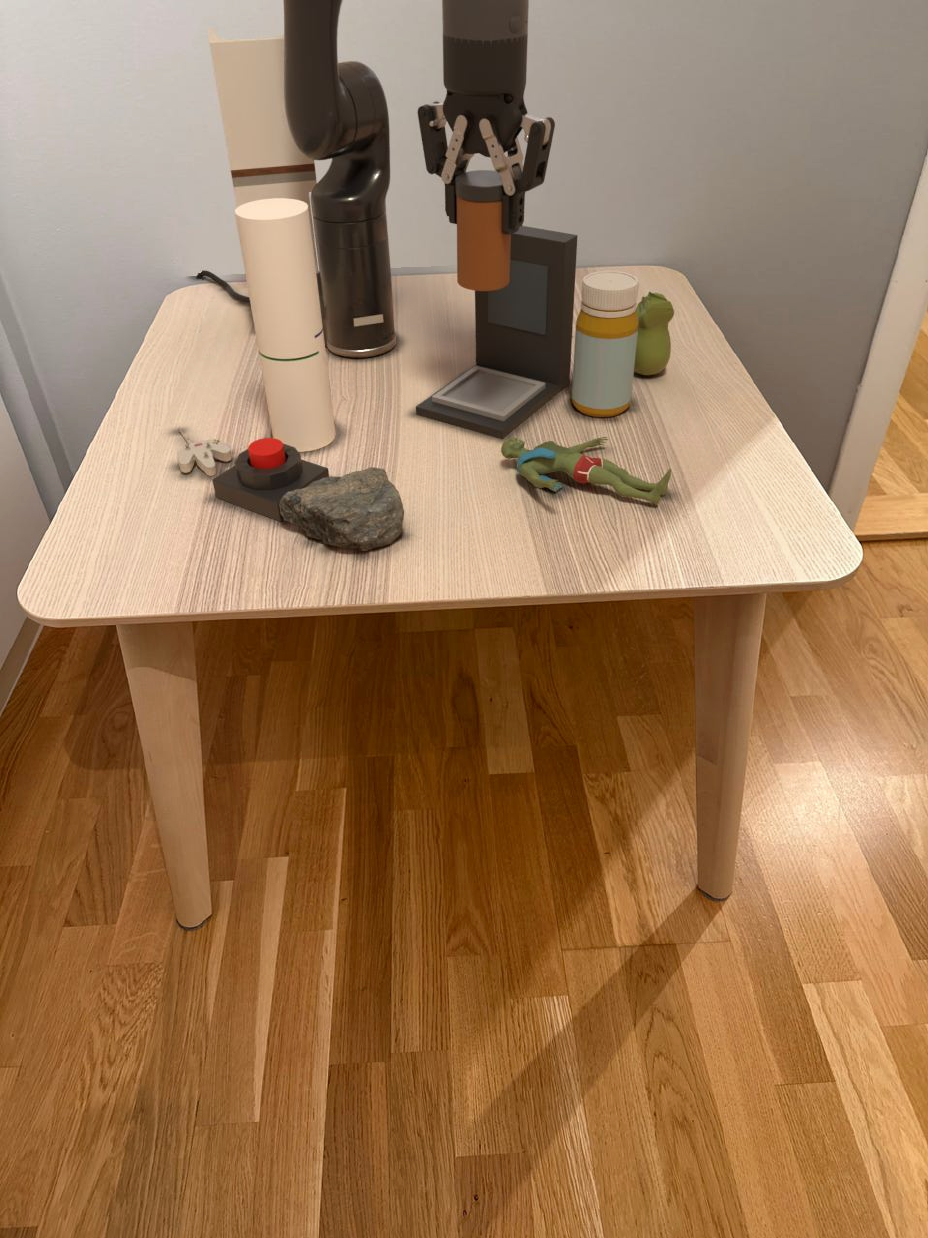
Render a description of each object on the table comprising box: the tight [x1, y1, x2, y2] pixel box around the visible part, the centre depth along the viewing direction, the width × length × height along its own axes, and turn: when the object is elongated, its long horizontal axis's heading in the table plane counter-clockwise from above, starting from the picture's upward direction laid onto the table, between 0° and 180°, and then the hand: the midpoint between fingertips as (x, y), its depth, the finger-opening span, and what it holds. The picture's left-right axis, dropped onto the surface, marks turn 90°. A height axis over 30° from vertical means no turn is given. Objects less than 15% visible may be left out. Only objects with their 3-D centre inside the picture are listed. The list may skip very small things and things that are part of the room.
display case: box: [206, 28, 319, 273], centre depth 126 cm, size 11×11×35 cm
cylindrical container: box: [234, 198, 336, 453], centre depth 100 cm, size 7×7×25 cm
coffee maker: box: [415, 225, 578, 440], centre depth 108 cm, size 16×12×18 cm
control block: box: [211, 444, 330, 522], centre depth 97 cm, size 9×8×4 cm
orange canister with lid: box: [455, 169, 511, 292], centre depth 94 cm, size 7×6×10 cm
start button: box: [247, 437, 286, 469], centre depth 96 cm, size 4×4×2 cm
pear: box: [634, 291, 675, 376], centre depth 115 cm, size 6×5×10 cm
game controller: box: [176, 428, 232, 477], centre depth 104 cm, size 6×12×3 cm, turn 49°
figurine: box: [500, 436, 672, 506], centre depth 97 cm, size 16×4×18 cm
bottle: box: [571, 270, 640, 418], centre depth 107 cm, size 7×7×15 cm
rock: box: [279, 466, 405, 552], centre depth 91 cm, size 12×10×5 cm
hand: (483, 226), depth 93 cm, fingers closed on orange canister with lid, 5 cm apart
